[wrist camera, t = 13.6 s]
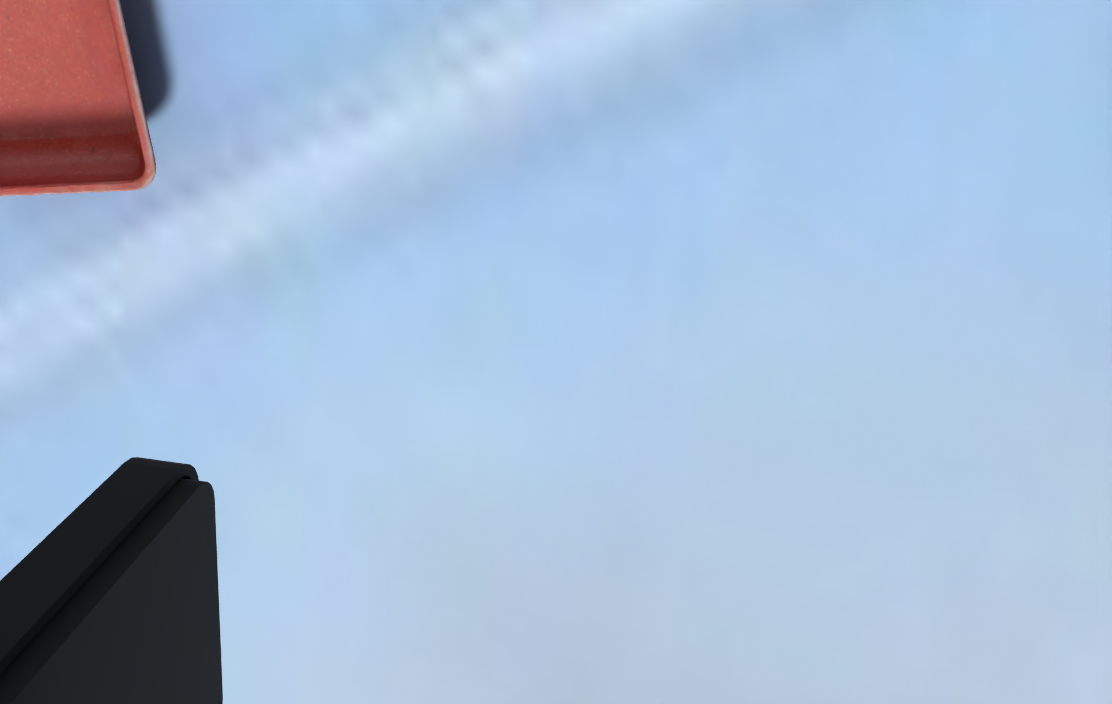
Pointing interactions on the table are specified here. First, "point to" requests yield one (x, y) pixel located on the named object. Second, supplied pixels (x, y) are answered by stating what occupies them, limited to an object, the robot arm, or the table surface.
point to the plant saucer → (70, 100)
